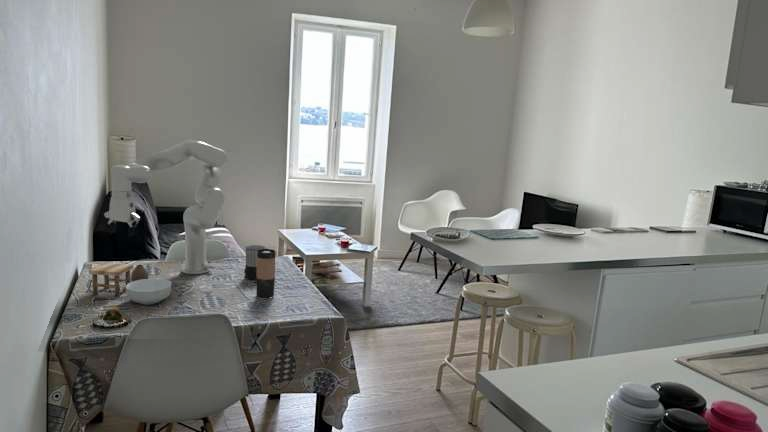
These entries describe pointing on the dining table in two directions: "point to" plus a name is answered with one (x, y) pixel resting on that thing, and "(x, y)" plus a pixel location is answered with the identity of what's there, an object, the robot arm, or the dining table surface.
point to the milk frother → (252, 261)
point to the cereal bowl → (148, 290)
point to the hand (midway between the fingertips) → (122, 234)
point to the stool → (108, 270)
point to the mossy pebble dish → (113, 317)
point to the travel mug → (265, 273)
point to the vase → (139, 273)
